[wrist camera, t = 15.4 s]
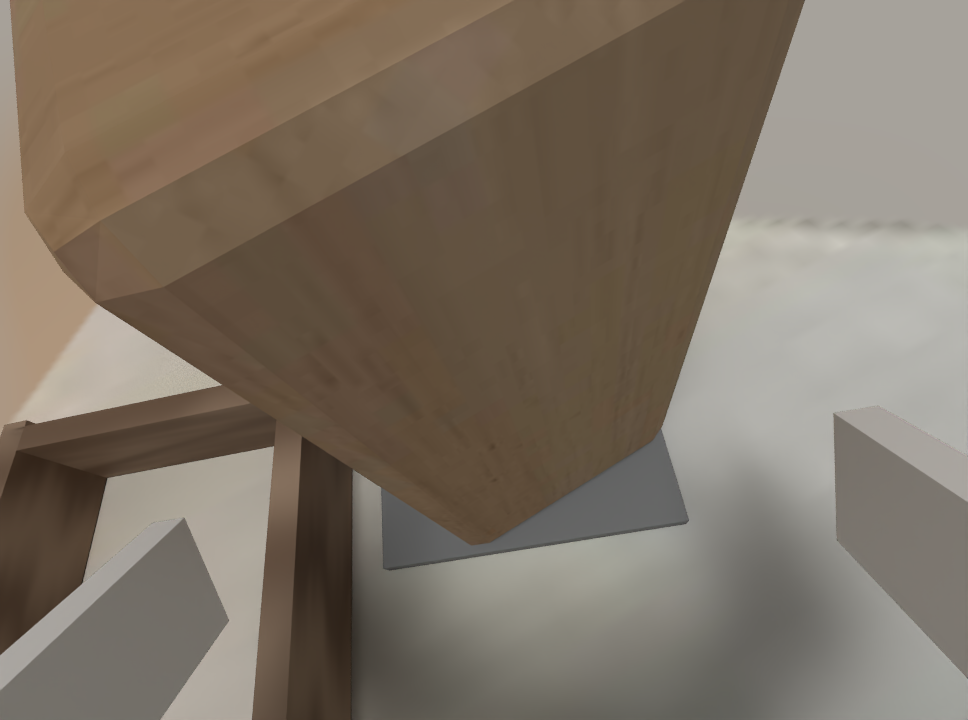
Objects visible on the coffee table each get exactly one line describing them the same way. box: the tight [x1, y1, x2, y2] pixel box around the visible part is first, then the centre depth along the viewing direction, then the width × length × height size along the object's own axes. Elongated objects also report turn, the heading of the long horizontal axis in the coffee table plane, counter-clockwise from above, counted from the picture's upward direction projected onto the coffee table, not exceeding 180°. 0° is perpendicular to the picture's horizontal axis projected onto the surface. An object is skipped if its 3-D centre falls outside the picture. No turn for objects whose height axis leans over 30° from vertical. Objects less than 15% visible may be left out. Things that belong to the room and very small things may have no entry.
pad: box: [381, 429, 689, 570], centre depth 25 cm, size 13×13×1 cm
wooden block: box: [10, 0, 805, 546], centre depth 16 cm, size 10×10×20 cm
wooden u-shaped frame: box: [0, 385, 352, 720], centre depth 22 cm, size 17×15×5 cm
